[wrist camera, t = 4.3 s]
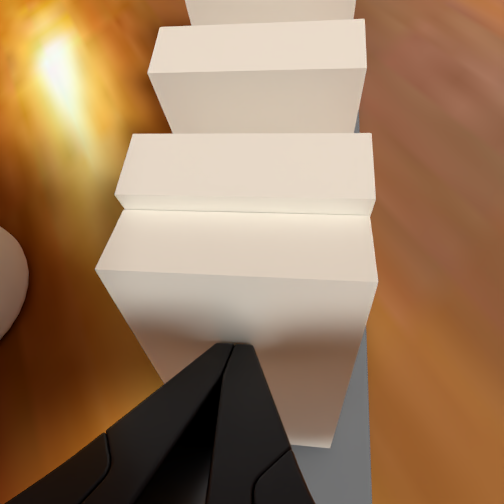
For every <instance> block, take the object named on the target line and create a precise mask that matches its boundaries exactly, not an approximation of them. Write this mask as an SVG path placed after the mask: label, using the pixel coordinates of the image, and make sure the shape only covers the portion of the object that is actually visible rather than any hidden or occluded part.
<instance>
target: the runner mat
mask: <svg viewBox="0 0 504 504" xmlns="http://www.w3.org/2000/svg"><path fill="white" fill-rule="evenodd" d="M354 133H359V110H358V115H357V119H356V124H355V129H354ZM291 447H292V451H293V452H294V454H295V457H296V460H297V462H298V465H299V468H300V470H301V472H302V475H303V477H304V480H305V482H306V484H307V487H308V489H309V491H310V494H311V495H312V497H313V499H314V501H315V503H316V504H372V490H371V460H370V430H369V401H368V371H367V341H366V326H365V330H364V333H363V337H362V340H361V343H360V347H359V350H358V354H357V357H356V361H355V364H354V368H353V371H352V375H351V378H350V381H349V385H348V388H347V392H346V395H345V399H344V402H343V406H342V409H341V412H340V416H339V419H338V423H337V426H336V430H335V433H334V437H333V440H332V443H331V447H330V448H320V447H311V446H301V445H291Z"/></svg>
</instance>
